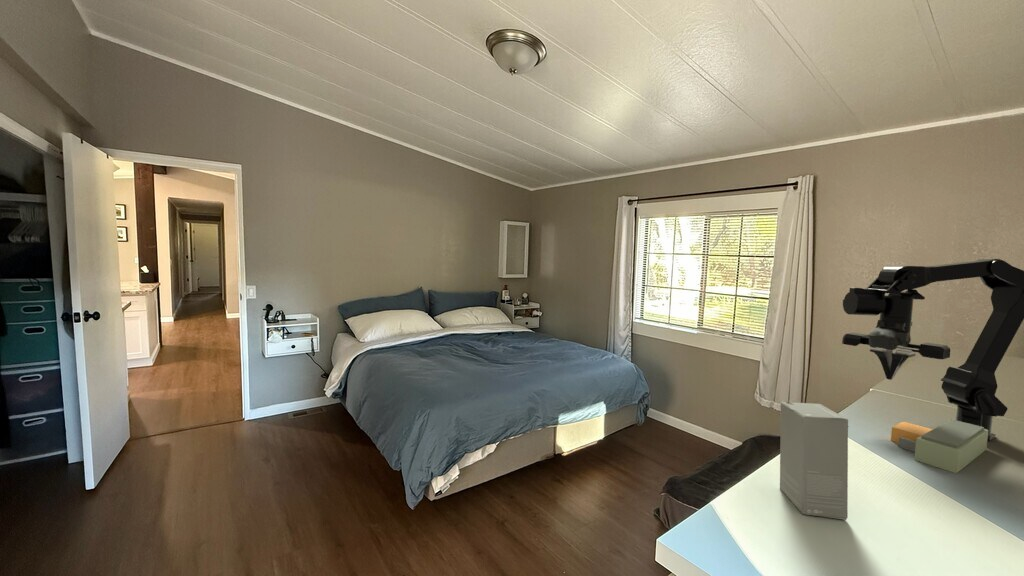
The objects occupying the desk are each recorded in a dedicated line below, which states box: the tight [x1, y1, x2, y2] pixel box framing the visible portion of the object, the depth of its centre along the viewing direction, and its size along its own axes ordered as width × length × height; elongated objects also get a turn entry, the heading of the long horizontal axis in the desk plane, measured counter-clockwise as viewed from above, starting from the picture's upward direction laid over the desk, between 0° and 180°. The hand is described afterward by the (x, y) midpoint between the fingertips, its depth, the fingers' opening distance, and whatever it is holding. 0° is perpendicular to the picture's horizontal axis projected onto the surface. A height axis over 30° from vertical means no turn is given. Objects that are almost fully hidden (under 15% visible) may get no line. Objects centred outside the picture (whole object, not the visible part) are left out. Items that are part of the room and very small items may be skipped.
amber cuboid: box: [890, 421, 934, 444], centre depth 92 cm, size 7×6×4 cm
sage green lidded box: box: [897, 419, 988, 474], centre depth 88 cm, size 22×10×5 cm, turn 121°
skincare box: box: [779, 401, 849, 521], centre depth 66 cm, size 8×7×16 cm
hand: (889, 379), depth 101 cm, fingers closed
